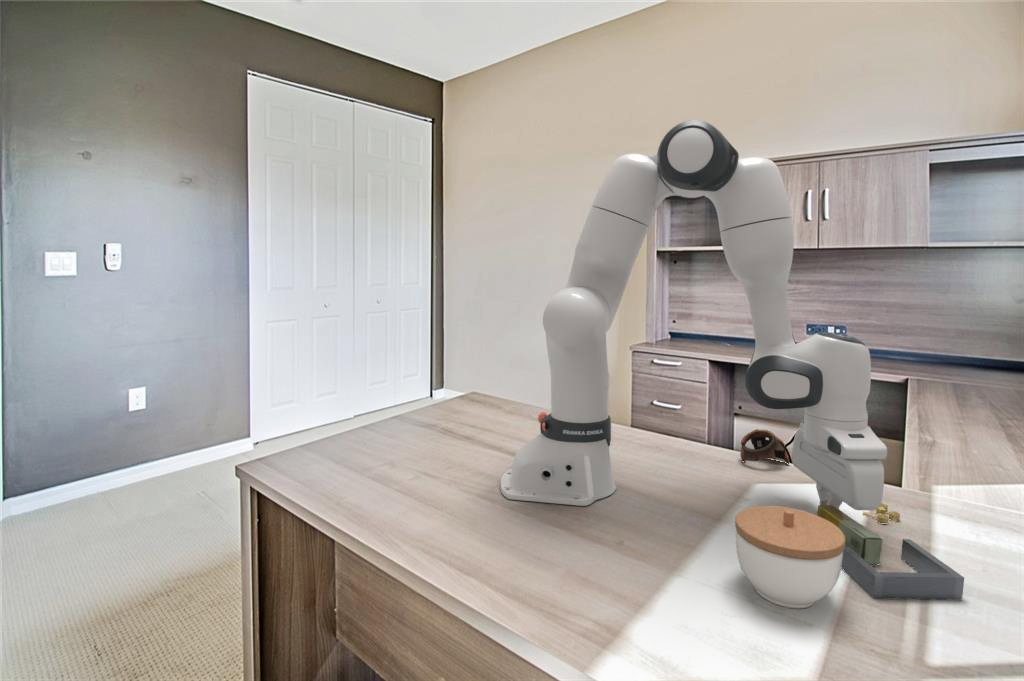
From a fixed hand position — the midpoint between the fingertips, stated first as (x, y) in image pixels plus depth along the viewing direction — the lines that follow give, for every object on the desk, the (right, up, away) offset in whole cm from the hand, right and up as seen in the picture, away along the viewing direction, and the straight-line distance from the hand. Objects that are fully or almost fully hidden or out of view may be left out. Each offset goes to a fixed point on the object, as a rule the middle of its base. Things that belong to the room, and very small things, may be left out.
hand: (828, 512), depth 90 cm
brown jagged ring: (+3, +2, +30) cm, 30 cm away
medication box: (-2, -3, -7) cm, 8 cm away
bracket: (-1, -4, -16) cm, 17 cm away
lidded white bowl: (-17, -4, -19) cm, 26 cm away
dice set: (+10, -2, +2) cm, 11 cm away
